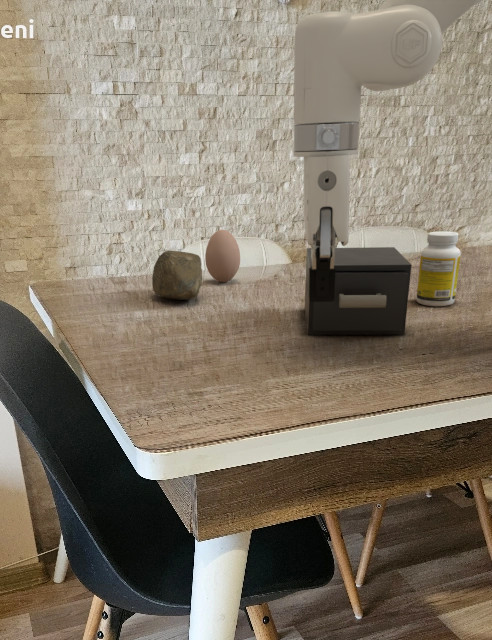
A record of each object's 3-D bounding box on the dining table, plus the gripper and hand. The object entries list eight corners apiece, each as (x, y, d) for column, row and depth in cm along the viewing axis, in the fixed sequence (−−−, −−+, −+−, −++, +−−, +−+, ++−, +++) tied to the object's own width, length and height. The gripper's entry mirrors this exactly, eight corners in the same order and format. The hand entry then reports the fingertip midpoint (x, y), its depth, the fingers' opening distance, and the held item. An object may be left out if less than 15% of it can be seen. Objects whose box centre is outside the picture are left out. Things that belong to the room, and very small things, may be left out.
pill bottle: (431, 297, 115) (439, 229, 110) (461, 303, 110) (472, 232, 105) (407, 302, 112) (415, 233, 107) (438, 309, 107) (447, 236, 102)
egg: (224, 277, 135) (223, 226, 131) (247, 281, 131) (247, 229, 126) (198, 282, 131) (197, 230, 127) (221, 287, 127) (220, 233, 122)
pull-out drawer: (407, 339, 89) (413, 279, 85) (314, 339, 90) (316, 280, 86) (387, 306, 106) (392, 255, 102) (308, 307, 107) (310, 256, 103)
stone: (217, 305, 113) (216, 256, 110) (167, 310, 111) (164, 260, 107) (187, 286, 127) (185, 243, 124) (142, 291, 125) (139, 246, 121)
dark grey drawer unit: (404, 334, 94) (411, 264, 90) (307, 334, 95) (310, 265, 91) (388, 309, 108) (394, 247, 104) (304, 309, 109) (306, 248, 105)
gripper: (365, 141, 71) (356, 313, 79) (352, 139, 84) (345, 287, 92) (294, 144, 71) (293, 315, 80) (292, 142, 85) (291, 288, 93)
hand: (321, 299), depth 86 cm, fingers closed
